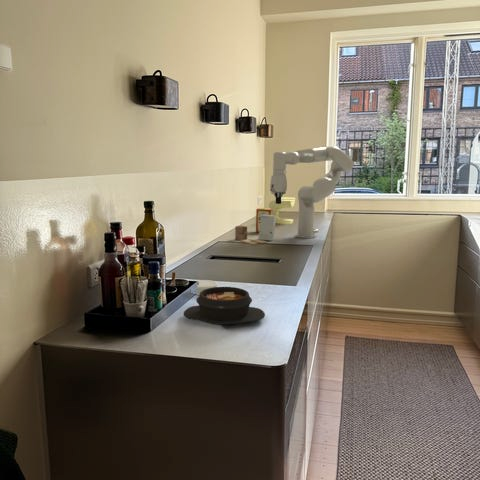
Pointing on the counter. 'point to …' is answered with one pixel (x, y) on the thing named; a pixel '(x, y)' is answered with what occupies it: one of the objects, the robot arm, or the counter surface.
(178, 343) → the counter surface
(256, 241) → the brass plate
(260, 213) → the baking soda box
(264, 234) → the skincare box
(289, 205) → the pale yellow c-shaped piece
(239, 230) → the walnut block
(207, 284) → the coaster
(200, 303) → the casserole
